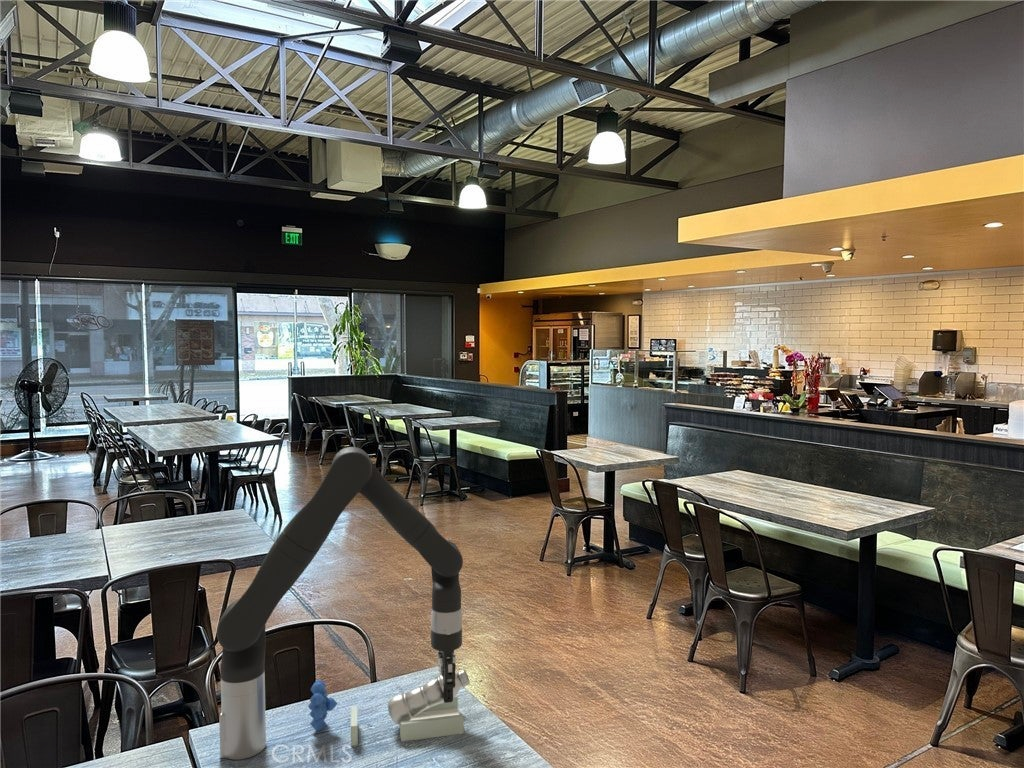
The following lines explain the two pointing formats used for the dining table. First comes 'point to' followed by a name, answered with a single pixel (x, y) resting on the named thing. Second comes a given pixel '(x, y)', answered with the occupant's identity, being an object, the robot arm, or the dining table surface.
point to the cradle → (434, 722)
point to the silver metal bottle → (422, 697)
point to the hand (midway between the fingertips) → (446, 694)
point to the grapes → (320, 705)
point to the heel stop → (354, 726)
